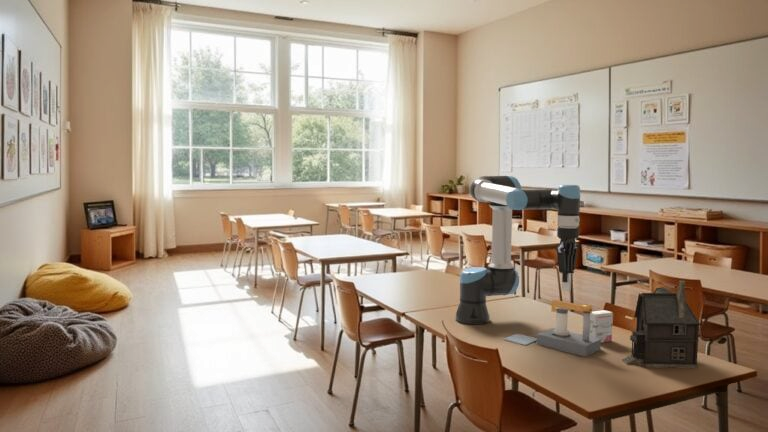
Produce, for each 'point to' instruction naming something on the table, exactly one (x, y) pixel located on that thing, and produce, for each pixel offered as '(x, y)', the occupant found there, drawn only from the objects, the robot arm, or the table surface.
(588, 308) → the wooden lever
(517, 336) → the mat
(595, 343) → the socket
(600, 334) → the ink box
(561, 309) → the plug
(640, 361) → the model house
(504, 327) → the table surface
